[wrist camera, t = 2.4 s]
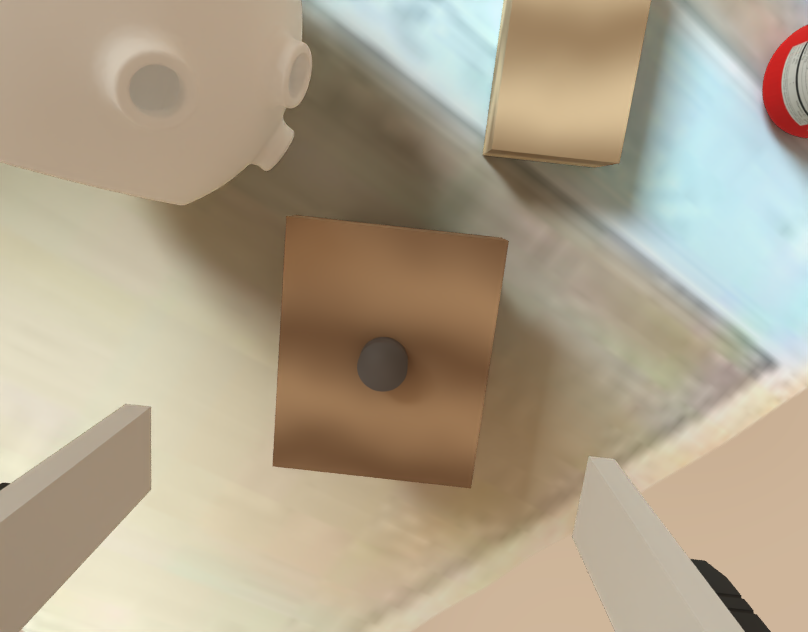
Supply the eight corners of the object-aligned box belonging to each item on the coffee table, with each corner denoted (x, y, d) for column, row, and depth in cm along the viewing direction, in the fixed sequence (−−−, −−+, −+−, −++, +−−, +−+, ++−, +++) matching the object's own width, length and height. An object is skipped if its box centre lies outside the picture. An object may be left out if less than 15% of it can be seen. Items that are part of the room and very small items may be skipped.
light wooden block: (594, 167, 32) (619, 163, 28) (482, 155, 32) (491, 149, 28) (634, -51, 29) (668, -90, 25) (512, -65, 29) (527, -106, 25)
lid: (467, 468, 29) (473, 501, 26) (282, 448, 29) (266, 478, 26) (501, 237, 26) (513, 243, 23) (296, 215, 26) (279, 217, 23)
